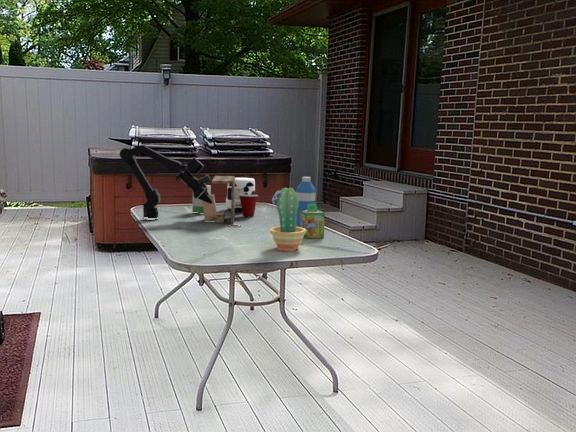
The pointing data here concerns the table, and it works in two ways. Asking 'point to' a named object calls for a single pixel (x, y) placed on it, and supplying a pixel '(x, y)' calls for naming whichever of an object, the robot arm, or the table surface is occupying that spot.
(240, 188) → the milk container
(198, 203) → the skincare box
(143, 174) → the robot arm
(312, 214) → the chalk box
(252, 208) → the plastic cup
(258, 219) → the table surface
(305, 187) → the water bottle
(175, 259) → the table surface
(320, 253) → the table surface
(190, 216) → the table surface
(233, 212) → the shelf
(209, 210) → the terracotta box
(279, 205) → the potted cactus
